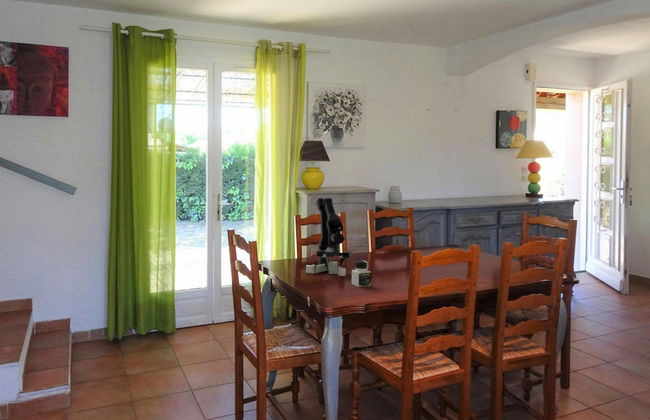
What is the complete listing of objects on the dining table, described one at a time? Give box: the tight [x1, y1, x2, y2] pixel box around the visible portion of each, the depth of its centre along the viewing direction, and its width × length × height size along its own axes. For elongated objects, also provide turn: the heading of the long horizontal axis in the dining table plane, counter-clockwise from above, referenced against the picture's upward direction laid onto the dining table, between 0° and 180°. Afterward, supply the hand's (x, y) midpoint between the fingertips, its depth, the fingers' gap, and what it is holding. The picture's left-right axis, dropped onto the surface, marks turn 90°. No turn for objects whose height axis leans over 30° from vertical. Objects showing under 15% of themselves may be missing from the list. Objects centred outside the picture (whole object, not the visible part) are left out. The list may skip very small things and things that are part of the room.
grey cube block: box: [328, 261, 339, 275], centre depth 293 cm, size 6×5×6 cm
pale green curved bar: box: [315, 263, 329, 274], centre depth 296 cm, size 12×2×4 cm, turn 141°
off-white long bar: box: [305, 264, 347, 277], centre depth 289 cm, size 2×22×4 cm, turn 72°
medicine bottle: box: [351, 260, 372, 288], centre depth 265 cm, size 7×7×12 cm
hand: (334, 269), depth 294 cm, fingers open, 7 cm apart
